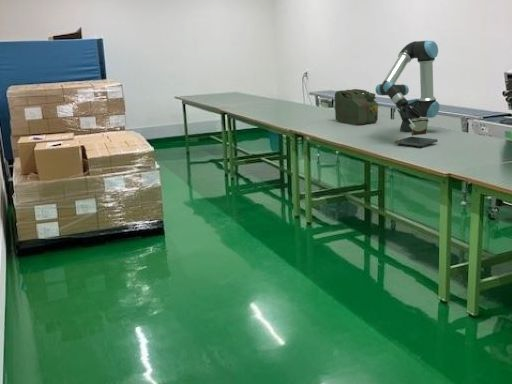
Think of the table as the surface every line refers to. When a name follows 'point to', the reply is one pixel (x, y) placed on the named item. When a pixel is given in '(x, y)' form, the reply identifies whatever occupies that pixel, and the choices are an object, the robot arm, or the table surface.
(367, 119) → the fuel can
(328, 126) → the table surface
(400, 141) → the levelling stand
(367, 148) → the table surface
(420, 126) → the food container
